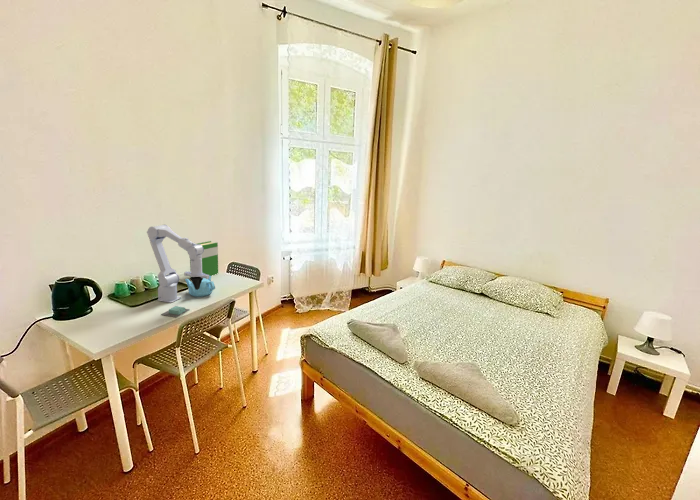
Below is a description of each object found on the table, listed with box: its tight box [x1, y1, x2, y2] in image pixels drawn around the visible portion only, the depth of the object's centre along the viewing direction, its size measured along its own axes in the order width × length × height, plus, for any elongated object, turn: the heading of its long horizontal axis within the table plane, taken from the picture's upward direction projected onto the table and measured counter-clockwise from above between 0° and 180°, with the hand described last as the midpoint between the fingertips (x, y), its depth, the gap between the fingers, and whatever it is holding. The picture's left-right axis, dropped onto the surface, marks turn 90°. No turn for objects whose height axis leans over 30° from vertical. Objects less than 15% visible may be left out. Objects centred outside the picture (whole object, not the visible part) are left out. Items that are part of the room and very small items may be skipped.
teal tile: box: [168, 305, 186, 315], centre depth 168 cm, size 2×5×6 cm
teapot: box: [184, 276, 216, 298], centre depth 195 cm, size 15×15×11 cm
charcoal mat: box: [160, 308, 190, 318], centre depth 169 cm, size 9×10×1 cm
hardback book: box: [189, 240, 219, 277], centre depth 225 cm, size 18×7×24 cm, turn 155°
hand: (197, 289), depth 177 cm, fingers closed
